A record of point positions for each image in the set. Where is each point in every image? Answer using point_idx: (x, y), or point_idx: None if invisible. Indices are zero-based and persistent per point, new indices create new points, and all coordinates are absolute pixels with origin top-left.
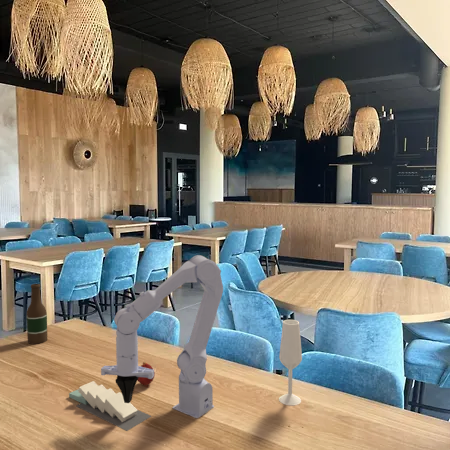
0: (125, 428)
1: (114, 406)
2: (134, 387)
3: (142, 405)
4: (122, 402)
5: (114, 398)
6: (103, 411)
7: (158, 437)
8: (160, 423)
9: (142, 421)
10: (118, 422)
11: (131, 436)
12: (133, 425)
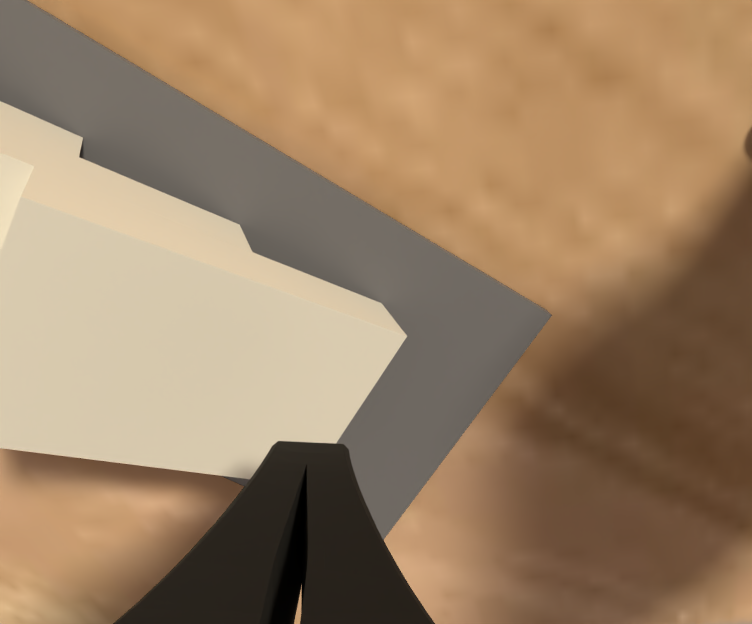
0: None
1: (138, 452)
2: (400, 575)
3: (387, 55)
4: (194, 352)
5: (45, 362)
6: None
7: (634, 562)
8: (638, 394)
9: (477, 413)
10: None
11: (429, 572)
12: (410, 474)
